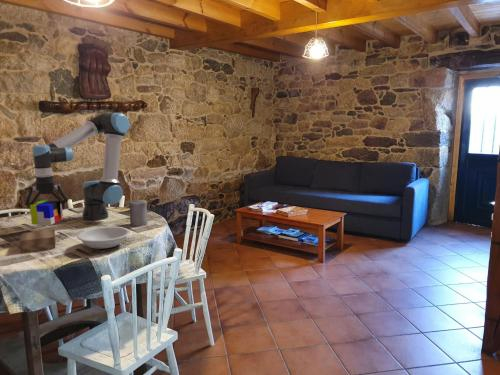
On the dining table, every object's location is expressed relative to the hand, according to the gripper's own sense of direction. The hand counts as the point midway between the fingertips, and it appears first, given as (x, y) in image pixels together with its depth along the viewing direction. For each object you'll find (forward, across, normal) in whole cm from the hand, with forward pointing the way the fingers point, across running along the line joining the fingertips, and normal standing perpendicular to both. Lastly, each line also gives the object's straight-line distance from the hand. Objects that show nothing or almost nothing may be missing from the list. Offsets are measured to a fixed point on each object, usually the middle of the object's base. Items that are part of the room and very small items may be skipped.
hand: (48, 216), depth 200 cm
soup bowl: (+11, +26, -27) cm, 40 cm away
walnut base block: (+10, -3, -17) cm, 20 cm away
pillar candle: (+11, +46, +8) cm, 47 cm away
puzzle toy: (+2, -1, -2) cm, 3 cm away
